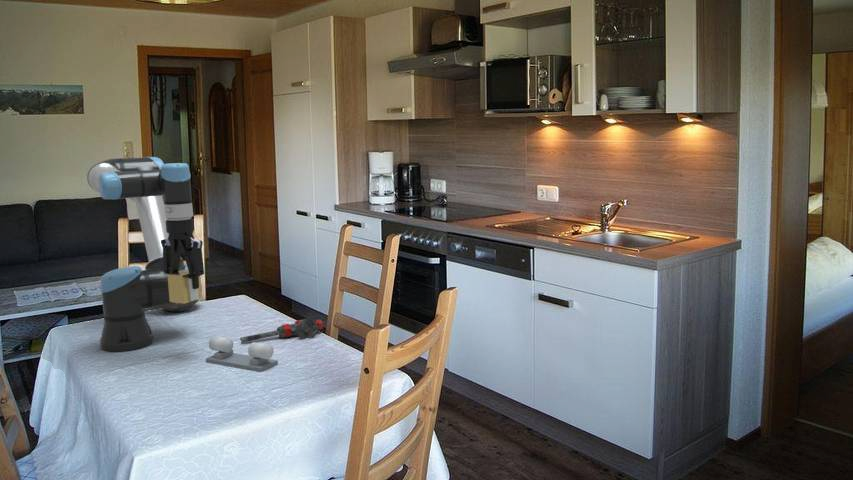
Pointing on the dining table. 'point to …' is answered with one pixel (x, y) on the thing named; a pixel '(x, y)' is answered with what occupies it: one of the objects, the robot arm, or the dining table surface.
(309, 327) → the valve
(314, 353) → the dining table surface
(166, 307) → the bowl
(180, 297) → the cardboard box
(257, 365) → the shaft bed
